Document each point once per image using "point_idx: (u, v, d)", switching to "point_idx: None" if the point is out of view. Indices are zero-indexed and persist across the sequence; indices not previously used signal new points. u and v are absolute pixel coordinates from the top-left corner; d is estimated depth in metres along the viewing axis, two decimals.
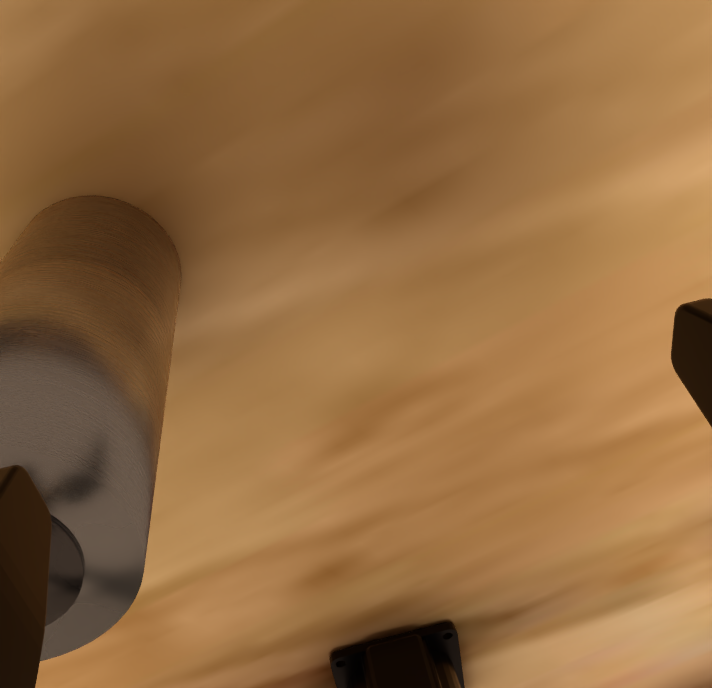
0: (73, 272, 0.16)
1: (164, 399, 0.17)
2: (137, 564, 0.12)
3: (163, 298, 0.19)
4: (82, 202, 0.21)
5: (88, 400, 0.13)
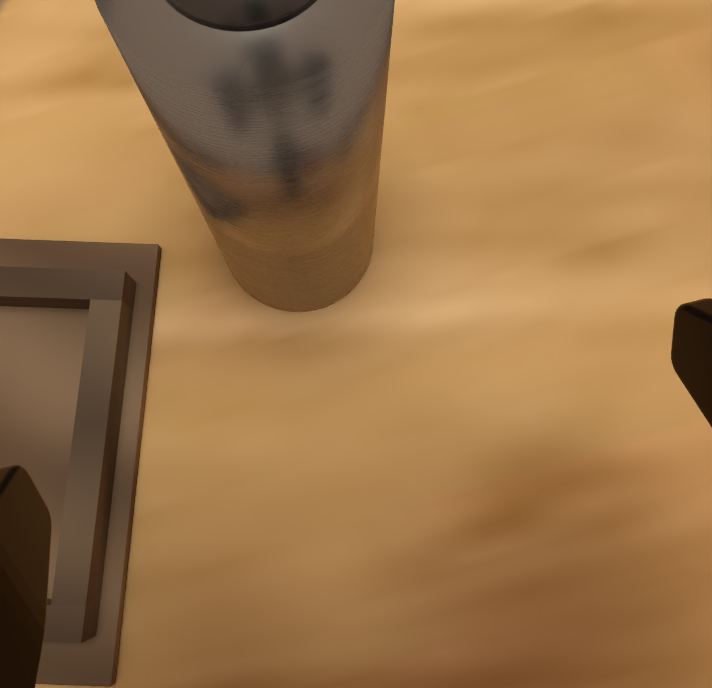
0: None
1: (379, 145, 0.16)
2: None
3: None
4: None
5: None
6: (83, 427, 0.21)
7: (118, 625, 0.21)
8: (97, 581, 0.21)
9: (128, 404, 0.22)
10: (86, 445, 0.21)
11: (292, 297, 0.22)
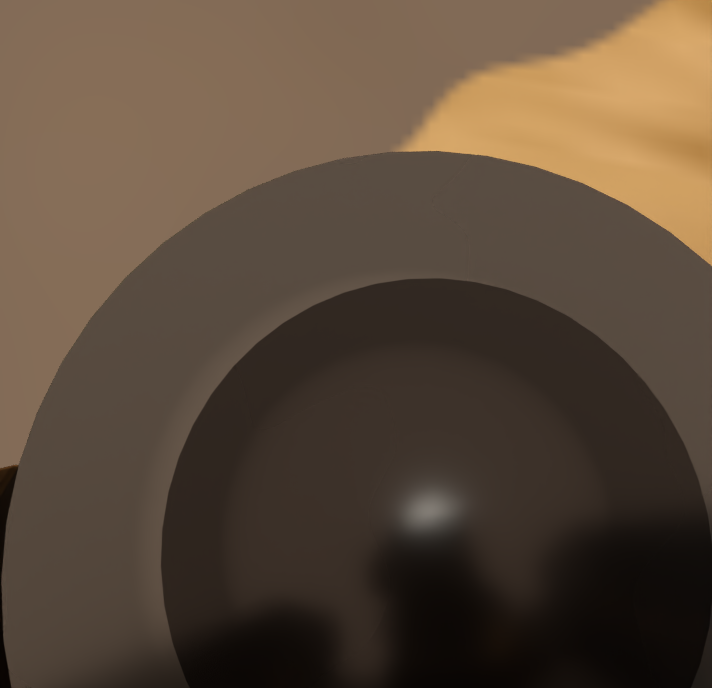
0: None
1: None
2: None
3: None
4: None
5: None
6: None
7: None
8: None
9: None
10: None
11: None
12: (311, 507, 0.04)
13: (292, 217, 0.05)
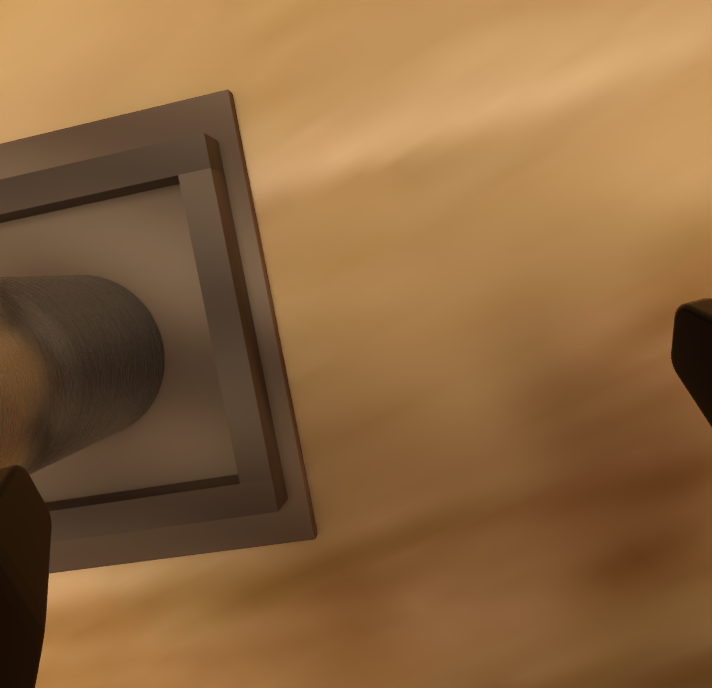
0: None
1: None
2: None
3: (51, 300, 0.17)
4: None
5: None
6: (215, 312, 0.20)
7: (305, 486, 0.21)
8: (274, 453, 0.21)
9: (250, 276, 0.21)
10: (224, 329, 0.20)
11: (116, 429, 0.20)
12: None
13: None
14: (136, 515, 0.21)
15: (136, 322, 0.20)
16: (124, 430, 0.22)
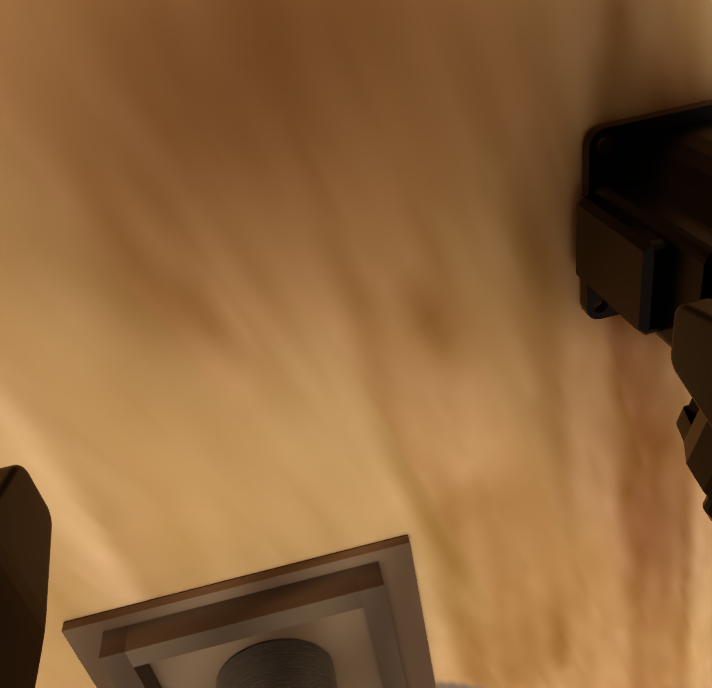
0: None
1: None
2: None
3: None
4: None
5: None
6: (234, 635, 0.27)
7: (368, 551, 0.27)
8: (341, 579, 0.27)
9: (205, 602, 0.27)
10: (247, 630, 0.27)
11: (324, 679, 0.28)
12: None
13: None
14: (388, 656, 0.29)
15: (246, 674, 0.28)
16: (329, 652, 0.30)
